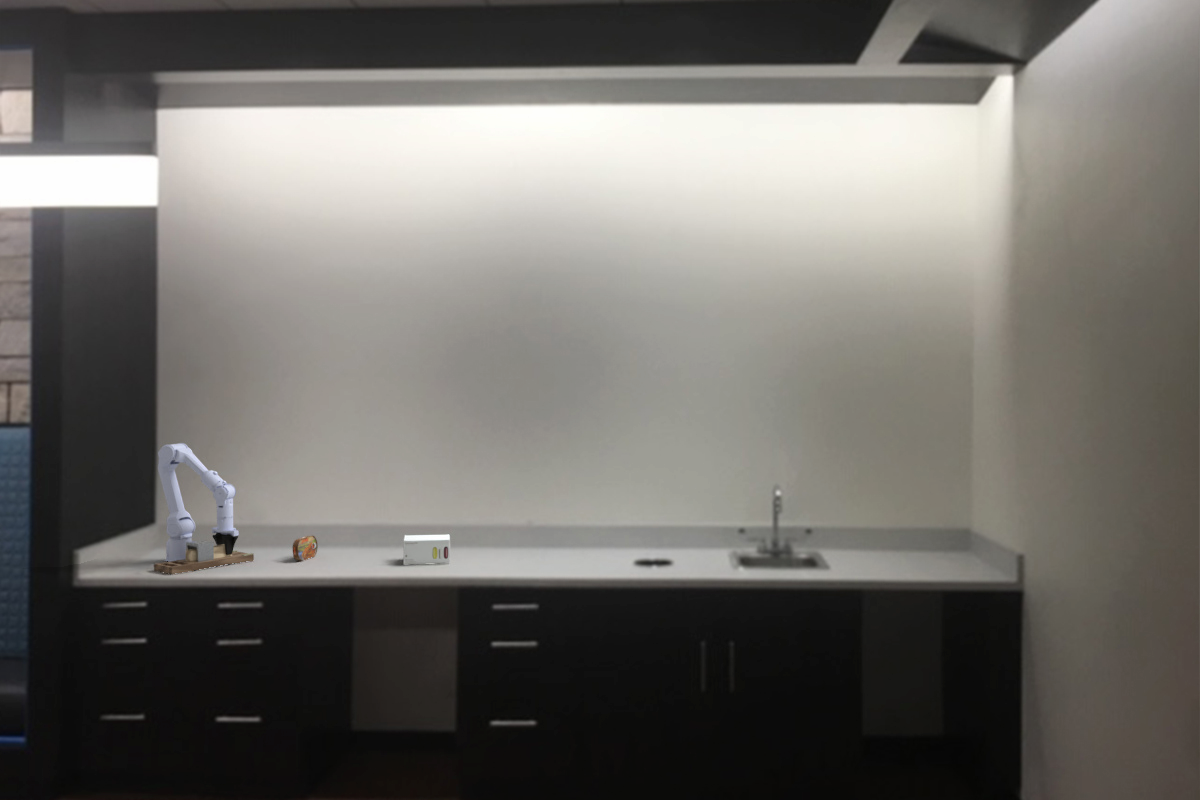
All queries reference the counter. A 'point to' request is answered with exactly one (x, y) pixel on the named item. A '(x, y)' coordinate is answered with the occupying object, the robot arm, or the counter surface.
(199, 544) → the metal u-shaped holder
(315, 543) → the tin
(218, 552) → the ash block
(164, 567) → the walnut deck
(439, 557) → the supplement box
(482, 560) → the counter surface
